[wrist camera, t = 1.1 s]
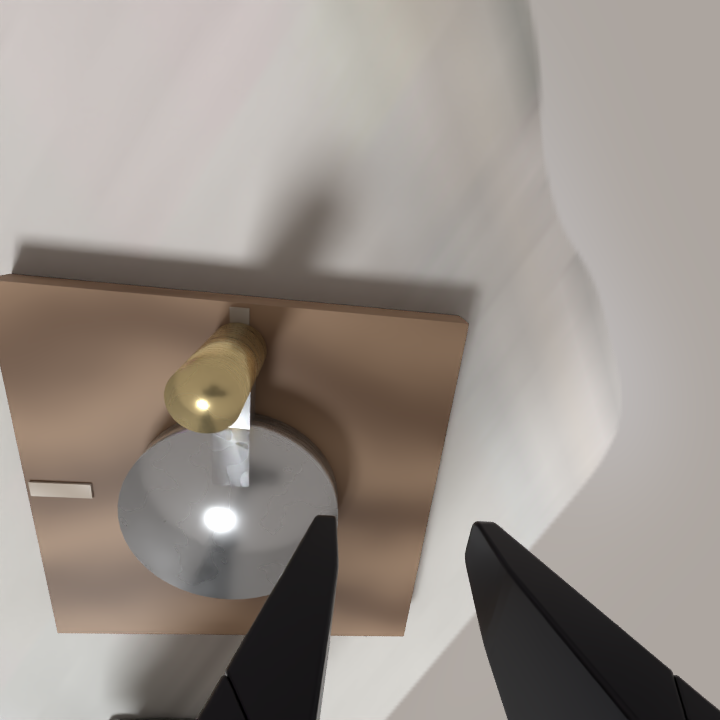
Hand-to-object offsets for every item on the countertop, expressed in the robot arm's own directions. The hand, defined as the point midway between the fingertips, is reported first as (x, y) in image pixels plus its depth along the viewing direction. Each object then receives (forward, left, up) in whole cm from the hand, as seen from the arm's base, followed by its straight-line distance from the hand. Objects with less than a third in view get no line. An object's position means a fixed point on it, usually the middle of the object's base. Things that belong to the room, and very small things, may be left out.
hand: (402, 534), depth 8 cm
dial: (-6, +6, -10) cm, 13 cm away
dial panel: (-8, +5, -12) cm, 15 cm away
